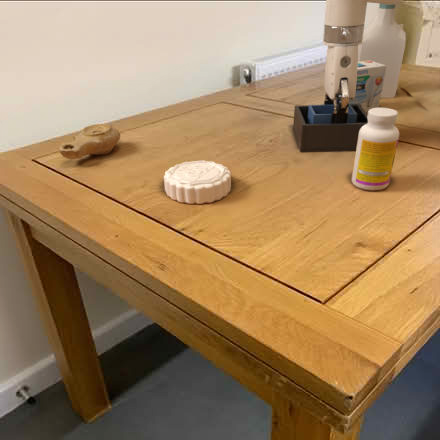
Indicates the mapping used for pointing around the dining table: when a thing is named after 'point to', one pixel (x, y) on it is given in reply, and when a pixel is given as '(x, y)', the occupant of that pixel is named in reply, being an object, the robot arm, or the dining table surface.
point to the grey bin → (327, 132)
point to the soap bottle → (384, 47)
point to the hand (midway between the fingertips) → (333, 125)
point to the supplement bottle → (376, 150)
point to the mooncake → (197, 182)
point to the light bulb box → (369, 84)
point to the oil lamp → (91, 141)
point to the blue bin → (327, 114)
